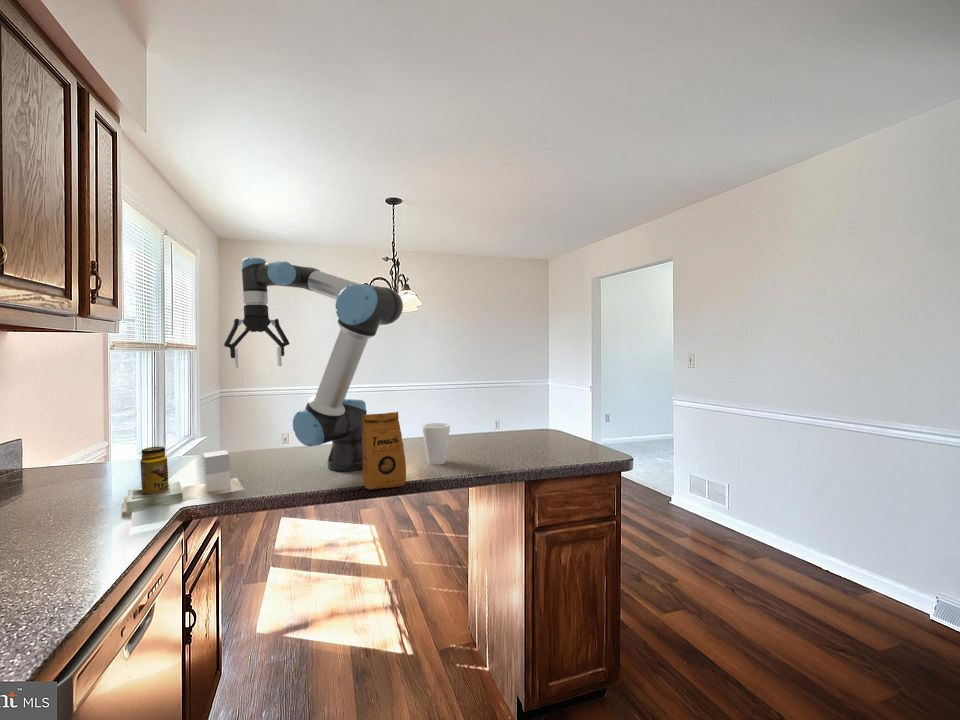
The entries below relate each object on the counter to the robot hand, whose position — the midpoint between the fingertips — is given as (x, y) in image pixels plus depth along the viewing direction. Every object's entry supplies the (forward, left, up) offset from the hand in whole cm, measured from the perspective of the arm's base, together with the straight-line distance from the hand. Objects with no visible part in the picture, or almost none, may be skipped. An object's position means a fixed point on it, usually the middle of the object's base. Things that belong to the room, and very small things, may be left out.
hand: (258, 366), depth 161 cm
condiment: (+8, +36, -32) cm, 49 cm away
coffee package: (-50, +15, -35) cm, 63 cm away
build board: (+3, +31, -35) cm, 47 cm away
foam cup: (-59, -12, -35) cm, 70 cm away
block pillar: (-3, +25, -34) cm, 42 cm away
